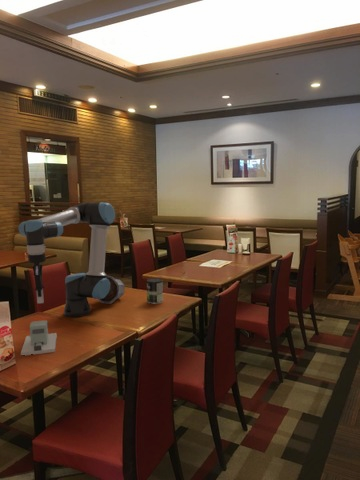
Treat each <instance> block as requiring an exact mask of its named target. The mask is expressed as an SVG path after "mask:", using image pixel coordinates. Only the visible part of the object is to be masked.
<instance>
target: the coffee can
mask: <svg viewBox="0 0 360 480" xmlns="http://www.w3.org/2000/svg"><path fill="white" fill-rule="evenodd" d="M163 283H164V280H163V278H158V277H156V278H155V277H153V278H152V277H151V278H148V279H146V302H147V303H148V304H150V303H151V304H153V305H157V304H158V305H159V304H162V303H163V302H164V292H163V291H164V290H163V289H164V285H163ZM151 304H150V305H151Z"/></svg>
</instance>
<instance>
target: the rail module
mask: <svg viewBox="0 0 360 480" xmlns="http://www.w3.org/2000/svg"><path fill="white" fill-rule="evenodd" d="M48 334H49V329H48V320H47V319H46V320H35V321H31V322H30V325H29V336H30V338H31V346H35V343H39V342H43V343H44V344H47V343H48Z"/></svg>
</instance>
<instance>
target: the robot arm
mask: <svg viewBox="0 0 360 480" xmlns="http://www.w3.org/2000/svg"><path fill="white" fill-rule="evenodd" d="M115 219H116V211H115V208H114V207H113V205H112V204H111V203H109V202H102V201H101V202H100V201H99V202H97V201H96V202H83V203H80V204H77V205H74V206H73V205H72V206H70V207H68V208H67V210H63V211H61V212H57V213H53V214H50V215H48V216H43V217H41V218H38V219H29V220H26V221H22V222H21V223H19V225H18V233H19V234H20V235H21V236H22V237H26V247H27V248H26V251H27V252H26V253H27V254H28V255H27V259H28V261H27V262H28V263H30V264H33V266H32V270H33V276H34V282H35V284H34V285H35V288H34V291H36V292H35V293H36V302H37V304H44V302H45V301H44V290H43V289H45V286H43V265H42V264H41V263H45V261H46V253H45V249H46V248H47V246H46V245H45V240H46V239H52V238H57V237H60V236H62V234H63V233H64V226H68V225H71V224H75V225H76V224H79V223H80V224H81V223H88V224H89V225H88V227H90V228H91V235H90V248H89V259H88V261H89V262H88V271H87V272H86V273H85V272H79V273H78V272H77V273H73V274H69V275H67V276H65V279H64V281H65V282H64V284H65V286H64V287H65V305H64V309H63V315H64V316H65V317H69V318H79V317H83V316H84V317H85V316H88V315H89V314H91V312H92V311H91V306H90V303H89V301H88V298H90V299H94V300H98V299H102V298H104V297H106V295H107V294H108V292H109V290H110V282H109V280H108V279H107V278H106V277H107V276H108V274H107V273H105V264H106V252H107V251H106V249H107V238H108V237H107V235H108V229H110V228H111V224H112V223H114V221H115Z"/></svg>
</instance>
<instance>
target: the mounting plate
mask: <svg viewBox="0 0 360 480" xmlns="http://www.w3.org/2000/svg"><path fill="white" fill-rule="evenodd" d="M57 334H58V333H57V332H54V333H52V332H51V333H48V343H47V344H44V343H43V342H39V343H35V346H31V338H30V335H26V337H25V339H24V343H23V345H22V347H21V351H20V356H21V355H25V356H31V354H33V355H41V354H47V353H56V345H57V338H58V337H57V336H58V335H57Z"/></svg>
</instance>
